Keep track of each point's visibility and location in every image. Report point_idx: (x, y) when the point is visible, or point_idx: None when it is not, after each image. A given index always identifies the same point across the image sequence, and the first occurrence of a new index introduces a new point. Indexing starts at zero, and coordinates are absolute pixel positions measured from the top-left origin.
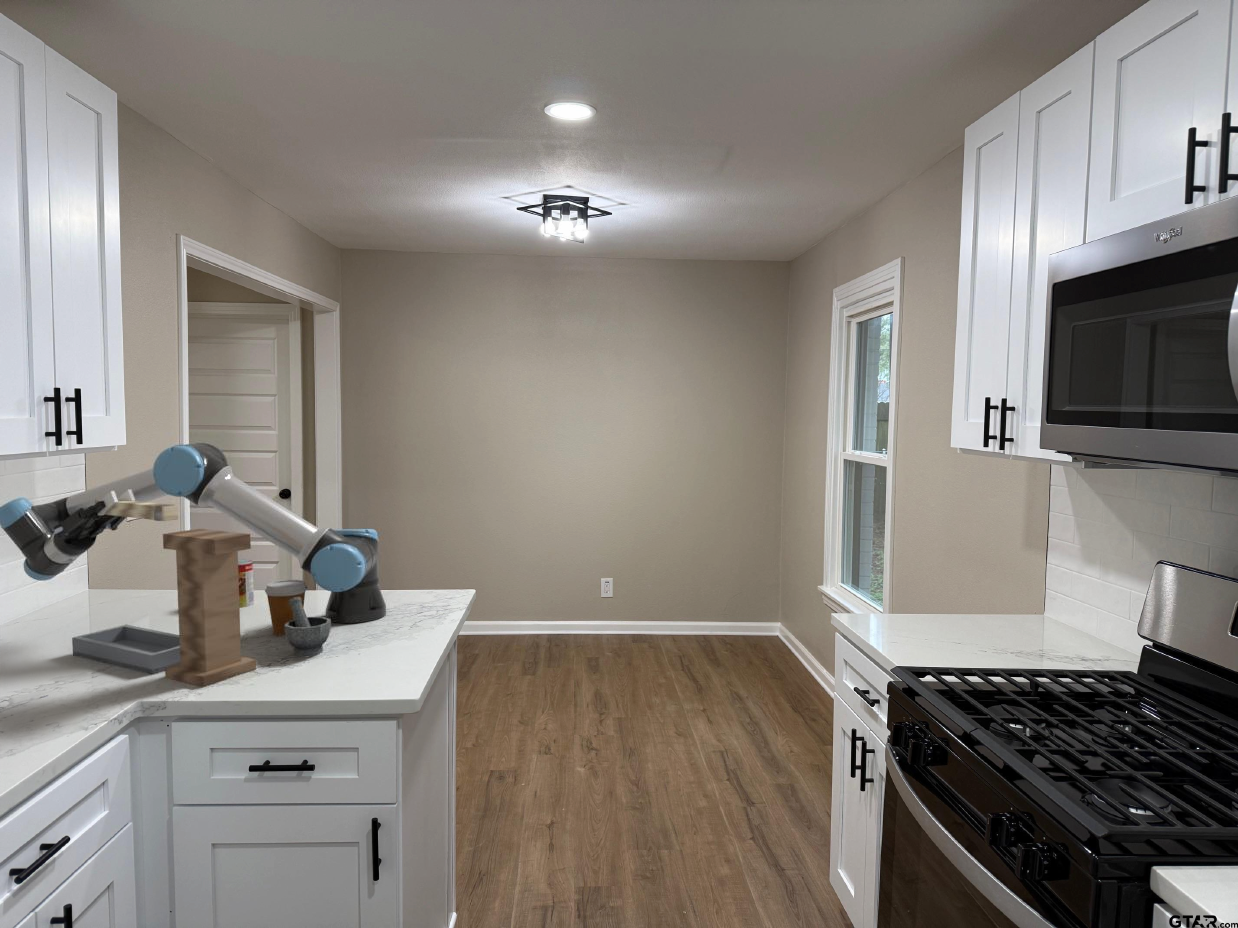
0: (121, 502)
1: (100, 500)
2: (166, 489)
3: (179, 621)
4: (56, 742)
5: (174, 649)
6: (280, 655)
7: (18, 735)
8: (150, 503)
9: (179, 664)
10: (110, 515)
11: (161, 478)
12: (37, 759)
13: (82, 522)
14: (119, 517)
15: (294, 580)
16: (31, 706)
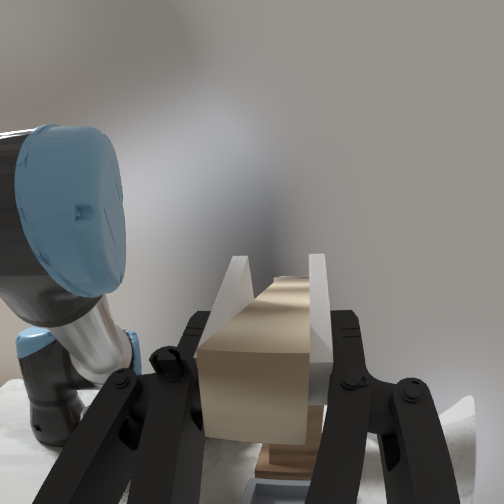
0: (307, 296)
1: (330, 318)
2: (112, 270)
3: (322, 421)
4: (451, 418)
5: (298, 480)
6: (217, 443)
7: (471, 437)
8: (282, 284)
9: (312, 470)
10: (195, 458)
11: (105, 227)
12: (462, 406)
13: (387, 479)
14: (129, 466)
15: (84, 411)
16: (458, 485)
